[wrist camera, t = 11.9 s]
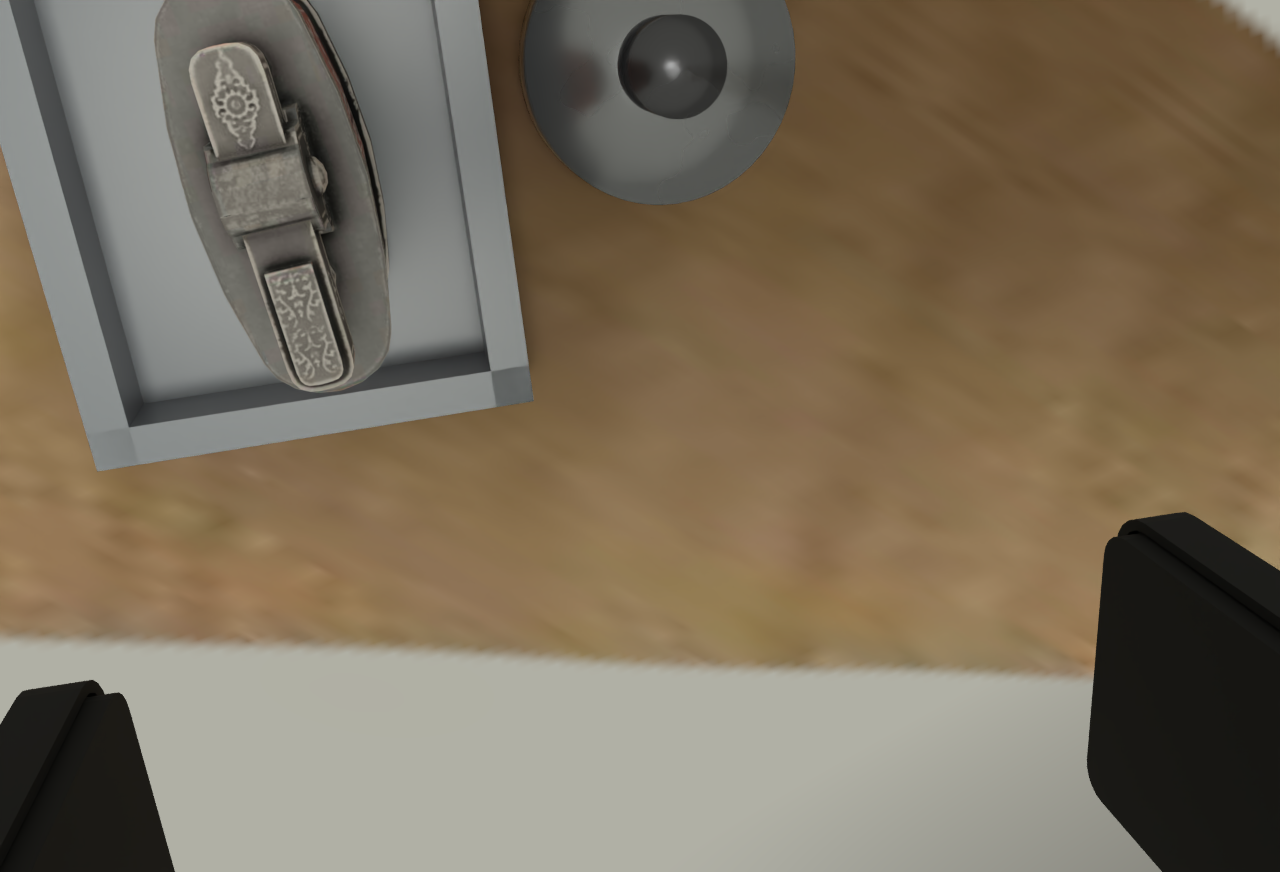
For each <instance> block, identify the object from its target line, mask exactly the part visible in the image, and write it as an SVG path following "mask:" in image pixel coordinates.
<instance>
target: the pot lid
mask: <svg viewBox="0 0 1280 872" xmlns="http://www.w3.org/2000/svg"><path fill="white" fill-rule="evenodd" d="M794 72H795V43H794V33H793V28H792V24H791V19H790V15H789V12H788V9H787V6H786V3H785V0H531V1H530V3H529V5H528V9H527V12H526V15H525V18H524V21H523V25H522V31H521V36H520V43H519V73H520V82H521V87H522V92H523V97H524V100H525V103H526V106H527V109H528V112H529V114H530V117H531V119H532V121H533V123H534V125H535V127H536V129H537V131H538V132H539V134H540V136H541V137H542V139H543V140H544V142H545V143H546V145H547V146H548V147H549V148H550V150H551V151H552V152H553V153H554V154H555V156H556V157H557V158H558V159H559V160H560V161H561V162H563V163H564V164H565V165H566V166H567V167H568V168H569V169H570V170H572V171H573V172H574V173H575V174H577V175H578V176H579V177H581V178H582V179H583V180H585V181H586V182H588V183H589V184H591V185H592V186H593V187H595V188H597V189H599V190H601V191H603V192H605V193H607V194H609V195H612V196H614V197H617V198H620V199H623V200H626V201H631V202H636V203H640V204H652V205H665V204H677V203H682V202H687V201H692V200H695V199H698V198H700V197H703V196H706V195H709V194H711V193H713V192H715V191H717V190H719V189H721V188H723V187H724V186H726V185H727V184H729V183H730V182H732V181H733V180H735V179H736V178H738V177H739V176H740V175H741V174H742V173H743V172H745V171H746V170H747V169H748V168H749V167H750V166H751V165H752V164H753V163H754V162H755V161H756V160H757V159H758V157H759V156H760V155H761V154H762V153H763V152H764V150H765V149H766V147H767V146H768V144H769V143H770V142H771V140H772V139H773V137H774V135H775V133H776V131H777V129H778V127H779V126H780V124H781V122H782V119H783V116H784V114H785V111H786V109H787V106H788V103H789V99H790V95H791V91H792V87H793V80H794Z"/></svg>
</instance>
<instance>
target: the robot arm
mask: <svg viewBox="0 0 1280 872" xmlns="http://www.w3.org/2000/svg"><path fill="white" fill-rule="evenodd" d="M1087 769H1088V773H1089V778H1090V781H1091V784H1092V787H1093V788H1094V791H1095V793H1096V795H1097V796H1098V798H1099V799H1100V800H1101V802H1102V803H1103V804H1104V805H1105V806H1106V807H1107V809H1108V810H1109V811H1110V812H1111V813H1112V814H1113V816H1114V817H1115V818H1116V819H1117V820H1118V821H1119V822H1120V823H1121V825H1122V826H1123V827H1124V828H1125V829H1126V831H1127V832H1128V833H1129V834H1130V835H1131V836H1132V837H1133V839H1134V840H1135V841H1136V842H1137V843H1138V844H1139V846H1140V847H1141V848H1142V849H1143V850H1144V851H1145V852H1146V854H1147V855H1148V856H1149V857H1150V858H1151V859H1152V861H1153V862H1154V863H1155V864H1156V865H1157V866H1158V867H1159V868H1160V870H1161V871H1162V872H1280V571H1279V570H1278V569H1276V568H1275V567H1273V566H1271V565H1270V564H1268V563H1267V562H1265V561H1264V560H1262V559H1261V558H1259V557H1257V556H1256V555H1254V554H1253V553H1251V552H1250V551H1248V550H1247V549H1245V548H1243V547H1242V546H1240V545H1239V544H1237V543H1236V542H1234V541H1233V540H1231V539H1229V538H1228V537H1226V536H1225V535H1223V534H1222V533H1220V532H1219V531H1217V530H1215V529H1214V528H1212V527H1211V526H1209V525H1208V524H1206V523H1205V522H1203V521H1201V520H1200V519H1198V518H1197V517H1195V516H1193V515H1191V514H1189V513H1186V512H1182V513H1174V514H1167V515H1161V516H1154V517H1148V518H1141V519H1135V520H1129V521H1127V522H1126V523H1125V524H1123V525H1122V527H1121V529H1120V531H1119V533H1118V537H1113V538H1112V539H1110V540H1109V541H1108V543H1107V545H1106V547H1105V552H1104V561H1103V573H1102V585H1101V597H1100V609H1099V621H1098V633H1097V646H1096V658H1095V670H1094V682H1093V694H1092V706H1091V718H1090V730H1089V742H1088V754H1087ZM0 872H175V871H174V867H173V864H172V860H171V856H170V853H169V849H168V846H167V842H166V839H165V835H164V832H163V828H162V824H161V821H160V817H159V814H158V810H157V806H156V803H155V799H154V796H153V792H152V789H151V785H150V781H149V778H148V774H147V771H146V767H145V764H144V760H143V756H142V753H141V749H140V746H139V742H138V739H137V735H136V731H135V728H134V724H133V721H132V717H131V714H130V710H129V707H128V704H127V702H126V700H125V698H124V696H123V695H122V694H120V693H112V694H106V695H105V694H104V692H103V690H102V688H101V687H100V686H99V684H98V683H97V682H95V681H94V680H89V681H83V682H76V683H69V684H63V685H57V686H50V687H43V688H37V689H31V690H26V691H22V692H21V693H20V695H19V696H18V697H17V698H16V700H15V701H14V703H13V704H12V706H11V708H10V710H9V711H8V713H7V714H6V716H5V718H4V719H3V721H2V723H1V724H0Z"/></svg>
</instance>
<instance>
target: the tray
mask: <svg viewBox="0 0 1280 872" xmlns="http://www.w3.org/2000/svg"><path fill="white" fill-rule="evenodd" d="M163 2H164V0H0V145H1V148H2V152H3V155H4V158H5V162H6V165H7V169H8V172H9V175H10V179H11V182H12V185H13V189H14V192H15V196H16V199H17V202H18V206H19V209H20V212H21V216H22V219H23V223H24V226H25V229H26V233H27V236H28V239H29V243H30V246H31V249H32V253H33V256H34V260H35V263H36V266H37V270H38V273H39V276H40V280H41V283H42V287H43V290H44V293H45V297H46V300H47V303H48V307H49V310H50V314H51V317H52V320H53V324H54V327H55V330H56V334H57V337H58V341H59V344H60V347H61V351H62V354H63V357H64V361H65V364H66V367H67V371H68V374H69V378H70V381H71V384H72V388H73V391H74V394H75V398H76V401H77V405H78V408H79V411H80V415H81V418H82V421H83V425H84V428H85V432H86V435H87V438H88V442H89V445H90V448H91V452H92V455H93V459H94V462H95V465H96V469H97V471H103V470H109V469H115V468H122V467H128V466H134V465H140V464H146V463H153V462H159V461H165V460H171V459H177V458H184V457H190V456H196V455H202V454H208V453H215V452H221V451H227V450H233V449H239V448H246V447H252V446H258V445H264V444H270V443H277V442H283V441H289V440H295V439H301V438H308V437H314V436H320V435H326V434H332V433H339V432H345V431H351V430H357V429H363V428H370V427H376V426H382V425H388V424H394V423H401V422H407V421H413V420H419V419H425V418H432V417H438V416H444V415H450V414H456V413H463V412H469V411H475V410H481V409H487V408H494V407H500V406H506V405H512V404H518V403H525V402H531V401H534V400H533V392H532V385H531V378H530V371H529V364H528V356H527V349H526V342H525V335H524V327H523V320H522V313H521V306H520V299H519V291H518V284H517V277H516V270H515V263H514V255H513V248H512V241H511V234H510V226H509V219H508V212H507V205H506V198H505V190H504V183H503V176H502V169H501V161H500V154H499V147H498V140H497V133H496V125H495V118H494V111H493V104H492V96H491V89H490V82H489V75H488V68H487V60H486V53H485V46H484V39H483V31H482V24H481V17H480V10H479V3H478V0H309V2H310V3H311V4H312V6H313V7H314V8H315V10H316V11H317V12H318V14H319V16H320V18H321V20H322V22H323V24H324V26H325V28H326V30H327V32H328V34H329V36H330V38H331V40H332V43H333V45H334V47H335V49H336V51H337V53H338V55H339V57H340V59H341V61H342V63H343V65H344V67H345V69H346V71H347V73H348V75H349V78H350V81H351V84H352V87H353V90H354V92H355V95H356V98H357V101H358V104H359V106H360V109H361V112H362V115H363V118H364V121H365V123H366V126H367V129H368V132H369V135H370V137H371V141H372V146H373V151H374V156H375V160H376V165H377V170H378V175H379V180H380V185H381V189H382V194H383V199H384V206H385V218H386V230H387V242H388V254H389V274H388V292H389V304H390V315H391V340H390V347H389V352H388V354H387V355H386V357H385V359H384V360H383V362H382V364H381V366H380V367H379V369H377V370H376V371H375V372H374V373H373V374H371V375H370V376H369V377H368V378H367V379H365V380H364V381H363V382H361V383H359V384H356V385H354V386H351V387H349V388H347V389H344V390H342V391H333V392H323V393H316V392H309V391H305V390H299V389H296V388H294V387H292V386H290V385H288V384H286V383H284V382H282V381H280V380H279V379H277V378H276V377H275V376H274V375H273V374H272V372H271V371H270V370H269V369H268V368H267V367H266V366H265V365H264V363H263V361H262V360H261V358H260V356H259V355H258V353H257V351H256V349H255V348H254V346H253V344H252V342H251V341H250V339H249V337H248V335H247V334H246V332H245V330H244V329H243V327H242V325H241V323H240V322H239V320H238V318H237V316H236V315H235V313H234V311H233V310H232V308H231V306H230V304H229V303H228V301H227V299H226V297H225V296H224V293H223V291H222V289H221V286H220V284H219V282H218V279H217V277H216V275H215V272H214V270H213V268H212V265H211V263H210V261H209V258H208V256H207V254H206V251H205V249H204V247H203V244H202V242H201V240H200V238H199V235H198V233H197V231H196V228H195V226H194V224H193V221H192V219H191V217H190V213H189V209H188V206H187V202H186V198H185V195H184V191H183V187H182V184H181V180H180V176H179V173H178V169H177V165H176V162H175V158H174V154H173V150H172V147H171V143H170V139H169V136H168V132H167V127H166V121H165V114H164V107H163V100H162V94H161V87H160V80H159V73H158V67H157V60H156V53H155V46H154V29H155V18H156V16H157V14H158V12H159V10H160V8H161V6H162V4H163Z"/></svg>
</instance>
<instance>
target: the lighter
mask: <svg viewBox="0 0 1280 872" xmlns="http://www.w3.org/2000/svg"><path fill="white" fill-rule="evenodd" d="M154 46H155V53H156V60H157V67H158V73H159V80H160V87H161V94H162V100H163V107H164V114H165V121H166V127H167V132H168V136H169V139H170V143H171V147H172V150H173V154H174V158H175V162H176V165H177V169H178V173H179V176H180V180H181V184H182V187H183V191H184V195H185V198H186V202H187V206H188V209H189V213H190V217H191V219H192V221H193V224H194V226H195V228H196V231H197V233H198V235H199V238H200V240H201V242H202V244H203V247H204V249H205V251H206V254H207V256H208V258H209V261H210V263H211V265H212V268H213V270H214V272H215V275H216V277H217V279H218V282H219V284H220V286H221V289H222V291H223V293H224V296H225V297H226V299H227V301H228V303H229V304H230V306H231V308H232V310H233V311H234V313H235V315H236V316H237V318H238V320H239V322H240V323H241V325H242V327H243V329H244V330H245V332H246V334H247V335H248V337H249V339H250V341H251V342H252V344H253V346H254V348H255V349H256V351H257V353H258V355H259V356H260V358H261V360H262V361H263V363H264V365H265V366H266V367H267V368H268V369H269V370H270V371H271V372H272V374H273V375H274V376H275V377H276V378H277V379H279V380H280V381H282V382H284V383H286V384H288V385H290V386H292V387H294V388H296V389H299V390H305V391H309V392H316V393H323V392H333V391H342V390H344V389H347V388H349V387H351V386H354V385H356V384H359V383H361V382H363V381H364V380H365V379H367V378H368V377H369V376H370V375H371V374H373V373H374V372H375V371H376V370H377V369H379V367H380V366H381V364H382V362H383V360H384V359H385V357H386V355H387V354H388V352H389V347H390V340H391V315H390V304H389V292H388V274H389V254H388V242H387V230H386V218H385V206H384V199H383V194H382V189H381V185H380V180H379V175H378V170H377V165H376V160H375V156H374V151H373V146H372V141H371V137H370V135H369V132H368V129H367V126H366V123H365V121H364V118H363V115H362V112H361V109H360V106H359V104H358V101H357V98H356V95H355V92H354V90H353V87H352V84H351V81H350V78H349V75H348V73H347V71H346V69H345V67H344V65H343V63H342V61H341V59H340V57H339V55H338V53H337V51H336V49H335V47H334V45H333V43H332V40H331V38H330V36H329V34H328V32H327V30H326V28H325V26H324V24H323V22H322V20H321V18H320V16H319V14H318V12H317V11H316V10H315V8H314V7H313V6H312V4H311V3H310V2H309V0H164V2H163V4H162V6H161V8H160V10H159V12H158V14H157V16H156V18H155V29H154Z"/></svg>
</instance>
